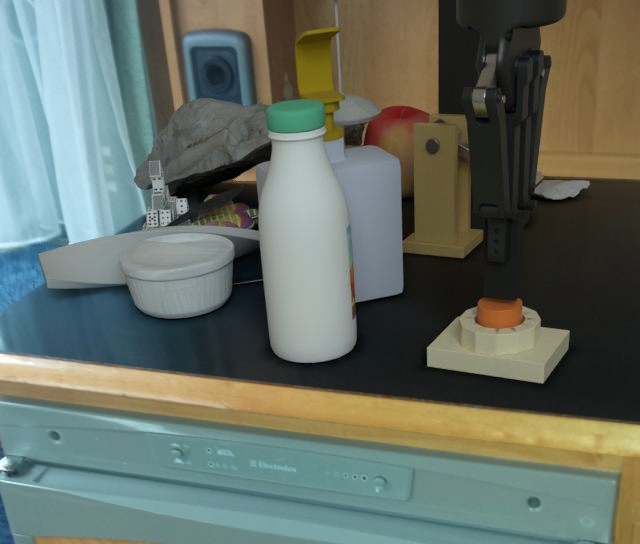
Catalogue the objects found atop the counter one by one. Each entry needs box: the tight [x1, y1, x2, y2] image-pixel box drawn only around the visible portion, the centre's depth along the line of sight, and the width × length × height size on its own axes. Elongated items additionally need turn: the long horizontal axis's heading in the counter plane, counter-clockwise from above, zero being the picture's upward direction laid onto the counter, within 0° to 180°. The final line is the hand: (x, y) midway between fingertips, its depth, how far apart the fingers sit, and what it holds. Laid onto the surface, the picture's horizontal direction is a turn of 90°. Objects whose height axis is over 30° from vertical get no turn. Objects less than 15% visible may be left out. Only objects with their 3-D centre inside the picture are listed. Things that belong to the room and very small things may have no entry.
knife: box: [232, 275, 263, 286], centre depth 104 cm, size 10×2×1 cm, turn 96°
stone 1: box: [133, 97, 272, 193], centre depth 122 cm, size 15×28×10 cm, turn 50°
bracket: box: [402, 113, 484, 259], centre depth 105 cm, size 7×6×13 cm
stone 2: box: [531, 179, 591, 201], centre depth 119 cm, size 6×8×2 cm
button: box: [477, 297, 523, 329], centre depth 82 cm, size 4×4×2 cm
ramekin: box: [119, 233, 235, 320], centre depth 98 cm, size 11×11×5 cm
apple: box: [362, 105, 431, 200], centre depth 121 cm, size 10×10×10 cm
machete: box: [165, 185, 245, 227], centre depth 113 cm, size 15×3×1 cm, turn 113°
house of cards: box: [141, 161, 192, 230], centre depth 117 cm, size 9×9×8 cm
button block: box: [426, 305, 571, 384], centre depth 84 cm, size 10×7×4 cm
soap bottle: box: [255, 26, 404, 304], centre depth 91 cm, size 12×7×23 cm, turn 109°
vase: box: [437, 0, 531, 236], centre depth 105 cm, size 10×10×30 cm
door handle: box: [37, 224, 260, 290], centre depth 104 cm, size 26×5×5 cm
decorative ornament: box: [177, 193, 259, 230], centre depth 115 cm, size 17×2×10 cm
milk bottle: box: [257, 98, 358, 364], centre depth 83 cm, size 8×8×20 cm
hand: (502, 295), depth 81 cm, fingers closed
